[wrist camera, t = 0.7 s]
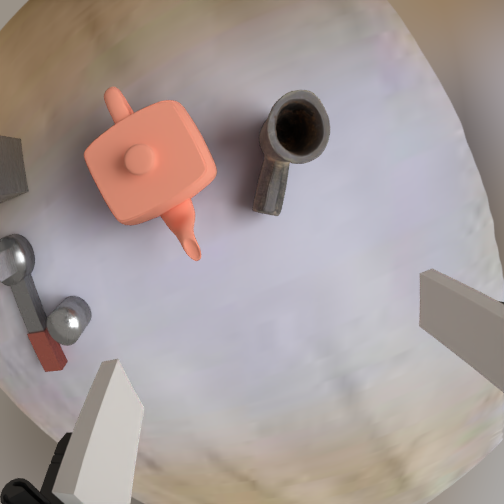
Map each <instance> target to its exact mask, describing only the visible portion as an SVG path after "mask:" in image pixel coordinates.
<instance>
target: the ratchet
mask: <svg viewBox="0 0 504 504" xmlns="http://www.w3.org/2000/svg"><path fill="white" fill-rule="evenodd" d="M34 264H35V256H34V251H33V248H32V246H31V244H30V243H29V241H28V240H27V239H26V238H25V237H23V236H22V235H19V234H12V235H9V236H7V237H4V238H2V239H0V282H2V283H3V284H5V285H8V286H11V289H12V292H13V294H14V297H15V300H16V302H17V305H18V308H19V310H20V313H21V315H22V318H23V320H24V323H25V325H26V327H27V330H28V332H29V333H28V334H27V335H28V337H29V340H30V342H31V344H32V346H33V348H34V350H35V352H36V354H37V356H38V358H39V360H40V362H41V364H42V366H43V368H44V370H45V372H48V371H58V370H63V368H64V366H65V365H66V363H67V362H68V361H67V359H66V357H65V355H64V353H63V351H62V349H61V347H60V344H59V343H58V342H57V341H55V340H54V339H53V338H52V337H51V335H50V334H49V332H48V329H47V317H46V314H45V312H44V309H43V307H42V304H41V301H40V299H39V296H38V293H37V290H36V288H35V285H34V282H33V279H32V276H31V273H32V271H33V269H34Z"/></svg>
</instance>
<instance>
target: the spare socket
mask: <svg viewBox="0 0 504 504" xmlns="http://www.w3.org/2000/svg"><path fill="white" fill-rule="evenodd" d="M90 320H91V310H90V307H89V306H88V304H87V303H86V302H85V301H84V300H83V299H82V298H80V297H77V296H70V297H67V298H66V299H65V300H64V301H63V302H62V303H61V304H60V305H59V306H58V307H57V308H56V309H55V310H54V311H53V312H52V313H51V314H50V315H49V317H48V319H47V329H48V332H49V334H50V335H51V337H52V338H53V339H54V340H55V341H57V342H58V343H60V344H62V345H72V344H74V343H75V342H76V341H77V340H78V338H79V337H80V335H81V334H82V332H83V331H84V329H85V328H86V327H87V325H88V324H89V322H90Z"/></svg>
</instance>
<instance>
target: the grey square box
mask: <svg viewBox="0 0 504 504" xmlns="http://www.w3.org/2000/svg"><path fill="white" fill-rule="evenodd" d="M25 192H28V186H27V181H26V175H25V169H24V162H23V155H22V147H21V139H18V138H12V137H6V136H0V203H2V202H4V201H7V200H9V199H11V198H13V197H16V196H18V195H21V194H23V193H25Z"/></svg>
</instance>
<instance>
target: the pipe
mask: <svg viewBox="0 0 504 504" xmlns="http://www.w3.org/2000/svg"><path fill="white" fill-rule="evenodd" d="M329 135H330V124H329V118H328V115H327V113H326V110H325V108H324V106H323V104H322V103H321V101H320V99H319V98H318V97H317V96H316V95H315V94H314V93H312V92H311V91H307V90H297V91H291V92H289V93H287V94H285V95H284V96H282V97H281V98H280V99H279V100H278V101H277V102H276V103H275V104H274V106H273V107H272V109H271V111H270V114H269V116H268V119H267V120H266V121H265V123H264V124H263V126H262V128H261V131H260V135H259V143H260V147H261V149H262V151H263V153H264V161H263V165H262V168H261V172H260V176H259V180H258V184H257V189H256V194H255V198H254V203H253V209H252V210H253V211H255V212H259V213H264V214H269V215H274V216H278V215H279V214H280V212H281V209H282V205H283V200H284V195H285V190H286V184H287V177H288V170H289V163H290V162H291V163H294V164H303V163H307V162H310V161H312V160H314V159H316V158H317V157H319V156H320V155H321V154H322V152H323V151H324V150H325V148H326V146H327V143H328V140H329Z"/></svg>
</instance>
